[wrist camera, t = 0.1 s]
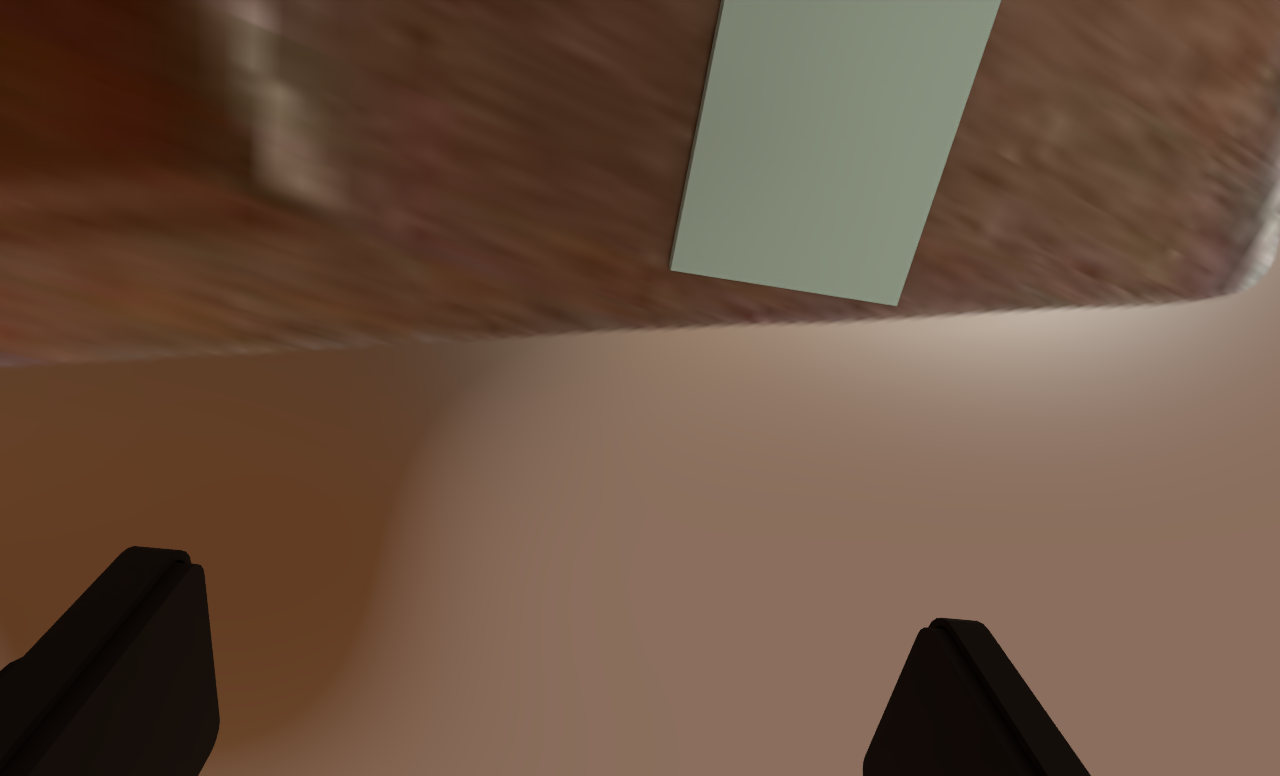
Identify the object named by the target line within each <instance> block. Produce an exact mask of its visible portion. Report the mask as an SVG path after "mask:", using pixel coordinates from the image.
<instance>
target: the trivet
mask: <svg viewBox="0 0 1280 776" xmlns="http://www.w3.org/2000/svg"><path fill="white" fill-rule="evenodd" d="M1000 2H1001V0H721V4H720V9H719V14H718V19H717V24H716V29H715V34H714V39H713V44H712V49H711V54H710V59H709V65H708V70H707V75H706V80H705V85H704V90H703V95H702V100H701V105H700V110H699V115H698V120H697V125H696V130H695V135H694V140H693V145H692V150H691V155H690V160H689V165H688V171H687V176H686V181H685V186H684V191H683V196H682V201H681V206H680V211H679V216H678V221H677V226H676V231H675V236H674V241H673V246H672V251H671V256H670V261H669V267H670V270H672V271H678V272H684V273H691V274H697V275H703V276H710V277H716V278H723V279H729V280H735V281H742V282H748V283H754V284H761V285H767V286H773V287H780V288H786V289H792V290H799V291H805V292H811V293H818V294H824V295H830V296H837V297H843V298H849V299H856V300H862V301H868V302H875V303H881V304H887V305H894V306H897V304H898V301H899V298H900V295H901V292H902V289H903V286H904V283H905V280H906V277H907V274H908V272H909V269H910V266H911V263H912V260H913V257H914V254H915V251H916V248H917V245H918V242H919V239H920V236H921V233H922V231H923V228H924V225H925V222H926V219H927V216H928V213H929V210H930V207H931V204H932V201H933V198H934V195H935V192H936V190H937V187H938V184H939V181H940V178H941V175H942V172H943V169H944V166H945V163H946V160H947V157H948V154H949V151H950V149H951V146H952V143H953V140H954V137H955V134H956V131H957V128H958V125H959V122H960V119H961V116H962V113H963V110H964V108H965V105H966V102H967V99H968V96H969V93H970V90H971V87H972V84H973V81H974V78H975V75H976V72H977V70H978V67H979V64H980V61H981V58H982V55H983V52H984V49H985V46H986V43H987V40H988V37H989V34H990V31H991V29H992V26H993V23H994V20H995V17H996V14H997V11H998V8H999V5H1000Z"/></svg>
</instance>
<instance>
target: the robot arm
mask: <svg viewBox="0 0 1280 776" xmlns="http://www.w3.org/2000/svg"><path fill="white" fill-rule="evenodd" d="M219 724H220V717H219V707H218V698H217V689H216V679H215V669H214V660H213V650H212V641H211V632H210V622H209V613H208V603H207V594H206V584H205V575H204V570H203V568H202V566H201V565H198V564H191V561H190V556H189V555H188V554H187V552H185V551H182V550H172V549H160V548H149V547H138V546H133V547H130V548H127V549H126V550H125V551H123V552H122V553H121V554H120V555H119V556H118V557H117V558H116V559H115V560H114V562H112V563H111V565H110V566H109V567H108V568H107V569H106V570H105V571H104V572H103V573H102V574H101V575H100V576H99V577H98V578H97V579H96V580H95V581H94V582H93V584H92V585H91V586H90V587H89V588H88V589H87V590H86V591H85V592H84V593H83V594H82V595H81V596H80V597H79V599H77V600H76V601H75V602H74V604H73V605H72V606H71V607H70V608H69V609H68V610H67V611H66V612H65V613H64V614H63V615H62V616H61V617H60V618H59V619H58V620H57V621H56V623H55V624H54V625H53V626H52V627H51V628H50V629H49V630H48V631H47V632H46V633H45V634H44V635H43V636H42V637H41V638H40V639H39V640H38V642H37V643H36V644H35V645H34V646H33V647H32V648H31V649H30V650H29V651H28V652H27V653H26V654H25V655H24V656H23V657H22V658H19V659H17V660H15V661H13V662H11V663H9V664H8V665H7V666H6V667H4V668H3V669H2V670H1V671H0V776H198V775H199V773H200V771H201V770H202V768H203V766H204V764H205V762H206V760H207V758H208V757H209V755H210V753H211V751H212V749H213V746H214V744H215V741H216V738H217V734H218V730H219ZM863 776H1091V775H1090V774H1089V772H1088V771H1087V770H1086V768H1085V767H1084V765H1083V764H1082V763H1081V761H1080V760H1079V758H1078V757H1077V755H1076V754H1075V752H1074V751H1073V750H1072V748H1071V747H1070V745H1069V744H1068V742H1067V741H1066V740H1065V738H1064V737H1063V735H1062V734H1061V732H1060V731H1059V730H1058V728H1057V727H1056V725H1055V724H1054V722H1053V721H1052V720H1051V718H1050V717H1049V715H1048V714H1047V712H1046V711H1045V710H1044V708H1043V707H1042V705H1041V704H1040V702H1039V701H1038V700H1037V698H1036V697H1035V695H1034V694H1033V692H1032V691H1031V690H1030V688H1029V687H1028V685H1027V684H1026V683H1025V681H1024V680H1023V678H1022V677H1021V675H1020V674H1019V673H1018V671H1017V670H1016V668H1015V667H1014V665H1013V664H1012V663H1011V661H1010V660H1009V659H1008V657H1007V656H1006V654H1005V652H1004V651H1003V650H1002V648H1001V647H1000V645H999V644H998V643H997V641H996V640H995V638H994V637H993V636H992V634H991V633H990V631H989V630H988V629H987V628H986V627H985V626H984V624H982V623H980V622H978V621H971V620H960V619H949V618H936V619H935V620H933V621H932V622H931V624H930V625H929V627H928V628H923V629H921V630H920V631H919V633H918V635H917V637H916V640H915V642H914V644H913V646H912V649H911V651H910V654H909V656H908V658H907V660H906V663H905V665H904V667H903V670H902V672H901V675H900V676H899V679H898V681H897V683H896V686H895V688H894V690H893V693H892V695H891V697H890V700H889V702H888V704H887V707H886V709H885V711H884V714H883V716H882V718H881V720H880V723H879V725H878V728H877V730H876V732H875V735H874V737H873V739H872V741H871V744H870V746H869V748H868V751H867V753H866V755H865V758H864V762H863Z"/></svg>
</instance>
